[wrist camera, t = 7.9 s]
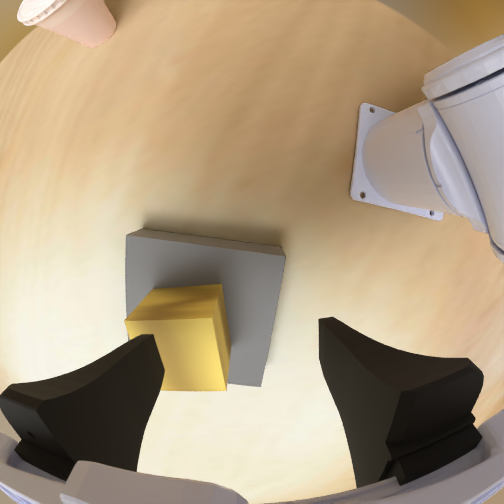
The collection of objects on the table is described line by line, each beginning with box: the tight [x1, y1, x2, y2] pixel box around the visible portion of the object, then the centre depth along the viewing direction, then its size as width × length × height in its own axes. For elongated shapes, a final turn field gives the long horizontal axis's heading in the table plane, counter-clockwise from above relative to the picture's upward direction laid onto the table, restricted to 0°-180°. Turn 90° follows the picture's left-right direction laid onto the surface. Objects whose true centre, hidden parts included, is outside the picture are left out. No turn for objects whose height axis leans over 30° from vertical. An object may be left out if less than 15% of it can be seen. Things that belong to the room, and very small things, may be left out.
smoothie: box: [17, 0, 116, 48], centre depth 9 cm, size 6×6×14 cm
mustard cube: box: [124, 284, 231, 391], centre depth 16 cm, size 5×5×5 cm
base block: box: [125, 229, 286, 387], centre depth 21 cm, size 11×11×4 cm
